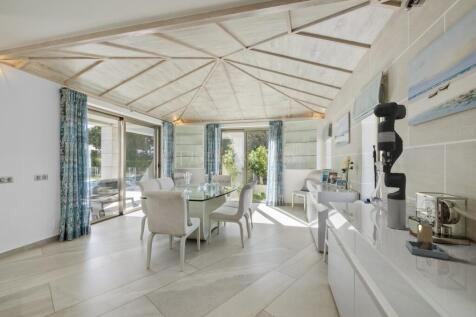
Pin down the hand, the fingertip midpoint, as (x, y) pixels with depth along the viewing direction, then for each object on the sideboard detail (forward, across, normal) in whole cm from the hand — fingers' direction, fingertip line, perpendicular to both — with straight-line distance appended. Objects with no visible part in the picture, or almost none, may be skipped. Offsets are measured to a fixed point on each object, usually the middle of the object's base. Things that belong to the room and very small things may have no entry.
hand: (386, 172), depth 113 cm
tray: (+34, -13, -12) cm, 38 cm away
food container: (+34, +11, -16) cm, 39 cm away
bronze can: (+33, -13, -12) cm, 38 cm away
